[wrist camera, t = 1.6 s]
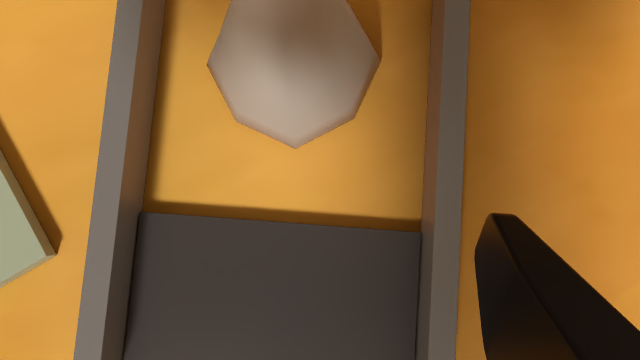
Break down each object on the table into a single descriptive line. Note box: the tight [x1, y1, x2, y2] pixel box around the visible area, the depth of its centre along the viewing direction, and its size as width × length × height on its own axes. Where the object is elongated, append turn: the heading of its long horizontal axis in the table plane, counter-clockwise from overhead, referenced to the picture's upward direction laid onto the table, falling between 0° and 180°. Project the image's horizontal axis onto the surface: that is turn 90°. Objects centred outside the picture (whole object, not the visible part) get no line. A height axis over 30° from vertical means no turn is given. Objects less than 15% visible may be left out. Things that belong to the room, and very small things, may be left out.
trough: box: [73, 0, 471, 360], centre depth 20 cm, size 17×14×2 cm
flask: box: [207, 0, 381, 149], centre depth 17 cm, size 7×7×10 cm
